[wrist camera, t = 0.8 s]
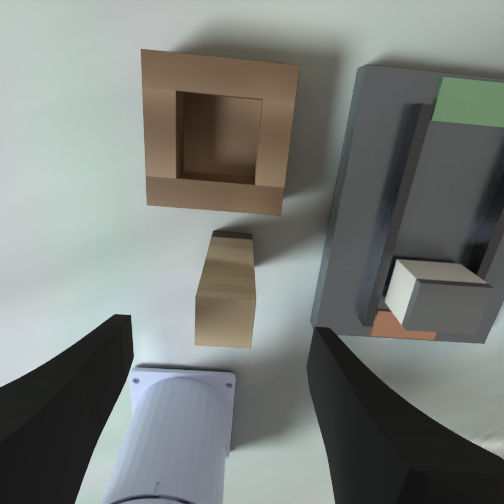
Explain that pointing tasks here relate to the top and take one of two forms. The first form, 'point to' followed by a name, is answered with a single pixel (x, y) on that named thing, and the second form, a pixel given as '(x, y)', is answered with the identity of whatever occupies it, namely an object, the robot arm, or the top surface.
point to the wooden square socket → (216, 131)
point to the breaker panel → (414, 196)
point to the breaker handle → (437, 297)
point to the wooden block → (226, 292)
